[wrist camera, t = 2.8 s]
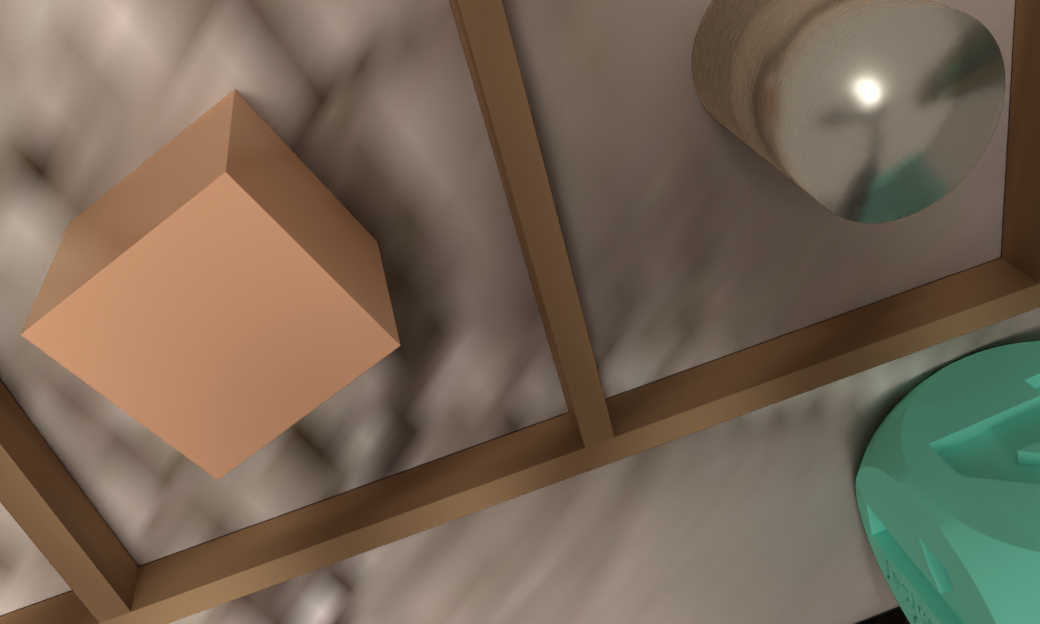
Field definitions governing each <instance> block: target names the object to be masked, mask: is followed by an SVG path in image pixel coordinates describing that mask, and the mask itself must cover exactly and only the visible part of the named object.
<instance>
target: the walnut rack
mask: <svg viewBox="0 0 1040 624" xmlns="http://www.w3.org/2000/svg"><path fill="white" fill-rule="evenodd" d="M449 1H450V4H451V8H452V11H453V15H454V18H455V22H456V25H457V28H458V32H459V35H460V39H461V42H462V46H463V49H464V53H465V56H466V59H467V63H468V66H469V70H470V73H471V77H472V80H473V83H474V87H475V90H476V94H477V97H478V101H479V104H480V108H481V111H482V114H483V118H484V121H485V125H486V128H487V132H488V135H489V139H490V142H491V145H492V149H493V152H494V156H495V159H496V163H497V166H498V169H499V173H500V176H501V180H502V183H503V187H504V190H505V194H506V197H507V200H508V204H509V207H510V211H511V214H512V218H513V221H514V225H515V228H516V231H517V235H518V238H519V242H520V245H521V249H522V252H523V256H524V259H525V262H526V266H527V269H528V273H529V276H530V280H531V283H532V286H533V290H534V293H535V297H536V300H537V304H538V307H539V311H540V314H541V317H542V321H543V324H544V328H545V331H546V335H547V338H548V342H549V345H550V348H551V352H552V355H553V359H554V362H555V366H556V369H557V372H558V376H559V379H560V383H561V386H562V390H563V393H564V397H565V400H566V403H567V407H568V410H569V413H567V414H564V415H561V416H559V417H556V418H553V419H550V420H547V421H545V422H542V423H539V424H536V425H534V426H531V427H528V428H525V429H522V430H520V431H517V432H514V433H511V434H508V435H506V436H503V437H500V438H497V439H494V440H492V441H489V442H486V443H483V444H481V445H478V446H475V447H472V448H469V449H467V450H464V451H461V452H458V453H455V454H453V455H450V456H447V457H444V458H441V459H439V460H436V461H433V462H430V463H428V464H425V465H422V466H419V467H416V468H414V469H411V470H408V471H405V472H402V473H400V474H397V475H394V476H391V477H388V478H386V479H383V480H380V481H377V482H375V483H372V484H369V485H366V486H363V487H361V488H358V489H355V490H352V491H349V492H347V493H344V494H341V495H338V496H335V497H333V498H330V499H327V500H324V501H322V502H319V503H316V504H313V505H310V506H308V507H305V508H302V509H299V510H296V511H294V512H291V513H288V514H285V515H282V516H280V517H277V518H274V519H271V520H269V521H266V522H263V523H260V524H257V525H255V526H252V527H249V528H246V529H243V530H241V531H238V532H235V533H232V534H229V535H227V536H224V537H221V538H218V539H216V540H213V541H210V542H207V543H204V544H202V545H199V546H196V547H193V548H190V549H188V550H185V551H182V552H179V553H176V554H174V555H171V556H168V557H165V558H163V559H160V560H157V561H154V562H151V563H149V564H146V565H143V566H140V567H138V566H137V565H136V564H135V562H134V561H133V559H132V558H131V557H130V555H129V554H128V553H127V551H126V550H125V549H124V547H123V546H122V545H121V543H120V542H119V540H118V539H117V538H116V536H115V535H114V534H113V532H112V531H111V530H110V528H109V527H108V526H107V524H106V523H105V522H104V520H103V519H102V517H101V516H100V515H99V513H98V512H97V511H96V509H95V508H94V507H93V505H92V504H91V503H90V501H89V500H88V499H87V497H86V496H85V494H84V493H83V492H82V490H81V489H80V488H79V486H78V485H77V484H76V482H75V481H74V480H73V478H72V477H71V476H70V474H69V473H68V471H67V470H66V469H65V467H64V466H63V465H62V463H61V462H60V461H59V459H58V458H57V457H56V455H55V454H54V453H53V451H52V450H51V448H50V447H49V446H48V444H47V443H46V442H45V440H44V439H43V438H42V436H41V435H40V434H39V432H38V431H37V430H36V428H35V427H34V425H33V424H32V423H31V421H30V420H29V419H28V417H27V416H26V415H25V413H24V412H23V411H22V409H21V408H20V407H19V405H18V404H17V402H16V401H15V400H14V398H13V397H12V396H11V394H10V393H9V392H8V390H7V389H6V388H5V386H4V385H3V383H2V382H1V381H0V502H1V503H2V505H3V506H4V507H5V508H6V510H7V511H8V512H9V513H10V514H11V516H12V517H13V518H14V519H15V521H16V522H17V523H18V524H19V525H20V527H21V528H22V529H23V530H24V531H25V533H26V534H27V535H28V536H29V538H30V539H31V540H32V541H33V542H34V544H35V545H36V546H37V547H38V549H39V550H40V551H41V552H42V553H43V555H44V556H45V557H46V558H47V560H48V561H49V562H50V563H51V564H52V566H53V567H54V568H55V569H56V571H57V572H58V573H59V574H60V575H61V577H62V578H63V579H64V580H65V582H66V583H67V584H68V585H69V586H70V588H71V589H72V590H73V591H70V592H68V593H65V594H62V595H59V596H57V597H54V598H51V599H48V600H45V601H43V602H40V603H37V604H34V605H31V606H29V607H26V608H23V609H20V610H17V611H15V612H12V613H9V614H6V615H4V616H1V617H0V624H168V623H171V622H173V621H176V620H179V619H182V618H185V617H187V616H190V615H193V614H196V613H198V612H201V611H204V610H207V609H209V608H212V607H215V606H218V605H220V604H223V603H226V602H229V601H231V600H234V599H237V598H240V597H242V596H245V595H248V594H251V593H253V592H256V591H259V590H262V589H264V588H267V587H270V586H273V585H275V584H278V583H281V582H284V581H286V580H289V579H292V578H295V577H297V576H300V575H303V574H306V573H308V572H311V571H314V570H317V569H319V568H322V567H325V566H328V565H330V564H333V563H336V562H339V561H341V560H344V559H347V558H350V557H352V556H355V555H358V554H361V553H364V552H366V551H369V550H372V549H375V548H377V547H380V546H383V545H386V544H388V543H391V542H394V541H397V540H399V539H402V538H405V537H408V536H410V535H413V534H416V533H419V532H421V531H424V530H427V529H430V528H432V527H435V526H438V525H441V524H443V523H446V522H449V521H452V520H454V519H457V518H460V517H463V516H465V515H468V514H471V513H474V512H476V511H479V510H482V509H485V508H487V507H490V506H493V505H496V504H498V503H501V502H504V501H507V500H509V499H512V498H515V497H518V496H520V495H523V494H526V493H529V492H532V491H534V490H537V489H540V488H543V487H545V486H548V485H551V484H554V483H556V482H559V481H562V480H565V479H567V478H570V477H573V476H576V475H578V474H581V473H584V472H587V471H589V470H592V469H595V468H598V467H600V466H603V465H606V464H609V463H611V462H614V461H617V460H620V459H622V458H625V457H628V456H631V455H633V454H636V453H639V452H642V451H644V450H647V449H650V448H653V447H655V446H658V445H661V444H664V443H666V442H669V441H672V440H675V439H677V438H680V437H683V436H686V435H688V434H691V433H694V432H697V431H699V430H702V429H705V428H708V427H711V426H713V425H716V424H719V423H722V422H724V421H727V420H730V419H733V418H735V417H738V416H741V415H744V414H746V413H749V412H752V411H755V410H757V409H760V408H763V407H766V406H768V405H771V404H774V403H777V402H779V401H782V400H785V399H788V398H790V397H793V396H796V395H799V394H801V393H804V392H807V391H810V390H812V389H815V388H818V387H821V386H823V385H826V384H829V383H832V382H834V381H837V380H840V379H843V378H845V377H848V376H851V375H854V374H856V373H859V372H862V371H865V370H867V369H870V368H873V367H876V366H879V365H881V364H884V363H887V362H890V361H892V360H895V359H898V358H901V357H903V356H906V355H909V354H912V353H914V352H917V351H920V350H923V349H925V348H928V347H931V346H934V345H936V344H939V343H942V342H945V341H947V340H950V339H953V338H956V337H958V336H961V335H964V334H967V333H969V332H972V331H975V330H978V329H980V328H983V327H986V326H989V325H991V324H994V323H997V322H1000V321H1002V320H1005V319H1008V318H1011V317H1013V316H1016V315H1019V314H1022V313H1024V312H1027V311H1030V310H1033V309H1035V308H1038V307H1040V0H1016V14H1015V31H1014V48H1013V66H1012V83H1011V101H1010V118H1009V135H1008V153H1007V170H1006V188H1005V205H1004V222H1003V240H1002V257H1001V258H999V259H997V260H994V261H991V262H988V263H985V264H983V265H980V266H977V267H974V268H971V269H969V270H966V271H963V272H960V273H958V274H955V275H952V276H949V277H946V278H944V279H941V280H938V281H935V282H932V283H930V284H927V285H924V286H921V287H918V288H916V289H913V290H910V291H907V292H905V293H902V294H899V295H896V296H893V297H891V298H888V299H885V300H882V301H879V302H877V303H874V304H871V305H868V306H865V307H863V308H860V309H857V310H854V311H852V312H849V313H846V314H843V315H840V316H838V317H835V318H832V319H829V320H826V321H824V322H821V323H818V324H815V325H812V326H810V327H807V328H804V329H801V330H799V331H796V332H793V333H790V334H787V335H785V336H782V337H779V338H776V339H773V340H771V341H768V342H765V343H762V344H759V345H757V346H754V347H751V348H748V349H746V350H743V351H740V352H737V353H734V354H732V355H729V356H726V357H723V358H720V359H718V360H715V361H712V362H709V363H706V364H704V365H701V366H698V367H695V368H693V369H690V370H687V371H684V372H681V373H679V374H676V375H673V376H670V377H667V378H665V379H662V380H659V381H656V382H653V383H651V384H648V385H645V386H642V387H640V388H637V389H634V390H631V391H628V392H626V393H623V394H620V395H617V396H614V397H612V398H609V399H606V400H605V398H604V394H603V390H602V386H601V383H600V379H599V375H598V371H597V367H596V363H595V359H594V355H593V352H592V348H591V344H590V340H589V336H588V332H587V328H586V324H585V321H584V317H583V313H582V309H581V305H580V301H579V297H578V294H577V290H576V286H575V282H574V278H573V274H572V270H571V266H570V263H569V259H568V255H567V251H566V247H565V243H564V239H563V236H562V232H561V228H560V224H559V220H558V216H557V212H556V208H555V205H554V201H553V197H552V193H551V189H550V185H549V181H548V177H547V174H546V170H545V166H544V162H543V158H542V154H541V150H540V147H539V143H538V139H537V135H536V131H535V127H534V123H533V119H532V116H531V112H530V108H529V104H528V100H527V96H526V92H525V88H524V85H523V81H522V77H521V73H520V69H519V65H518V61H517V58H516V54H515V50H514V46H513V42H512V38H511V34H510V30H509V27H508V23H507V19H506V15H505V11H504V7H503V3H502V0H449Z"/></svg>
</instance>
